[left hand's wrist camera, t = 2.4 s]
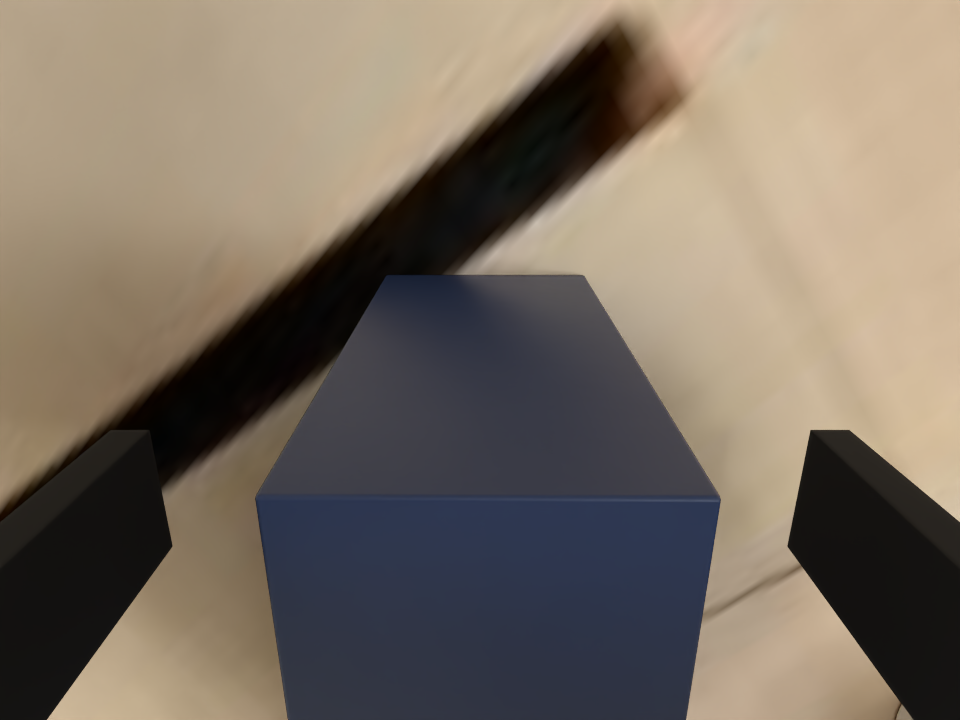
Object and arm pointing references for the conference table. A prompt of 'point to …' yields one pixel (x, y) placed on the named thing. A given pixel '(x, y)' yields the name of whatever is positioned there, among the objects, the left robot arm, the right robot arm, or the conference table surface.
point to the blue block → (487, 517)
